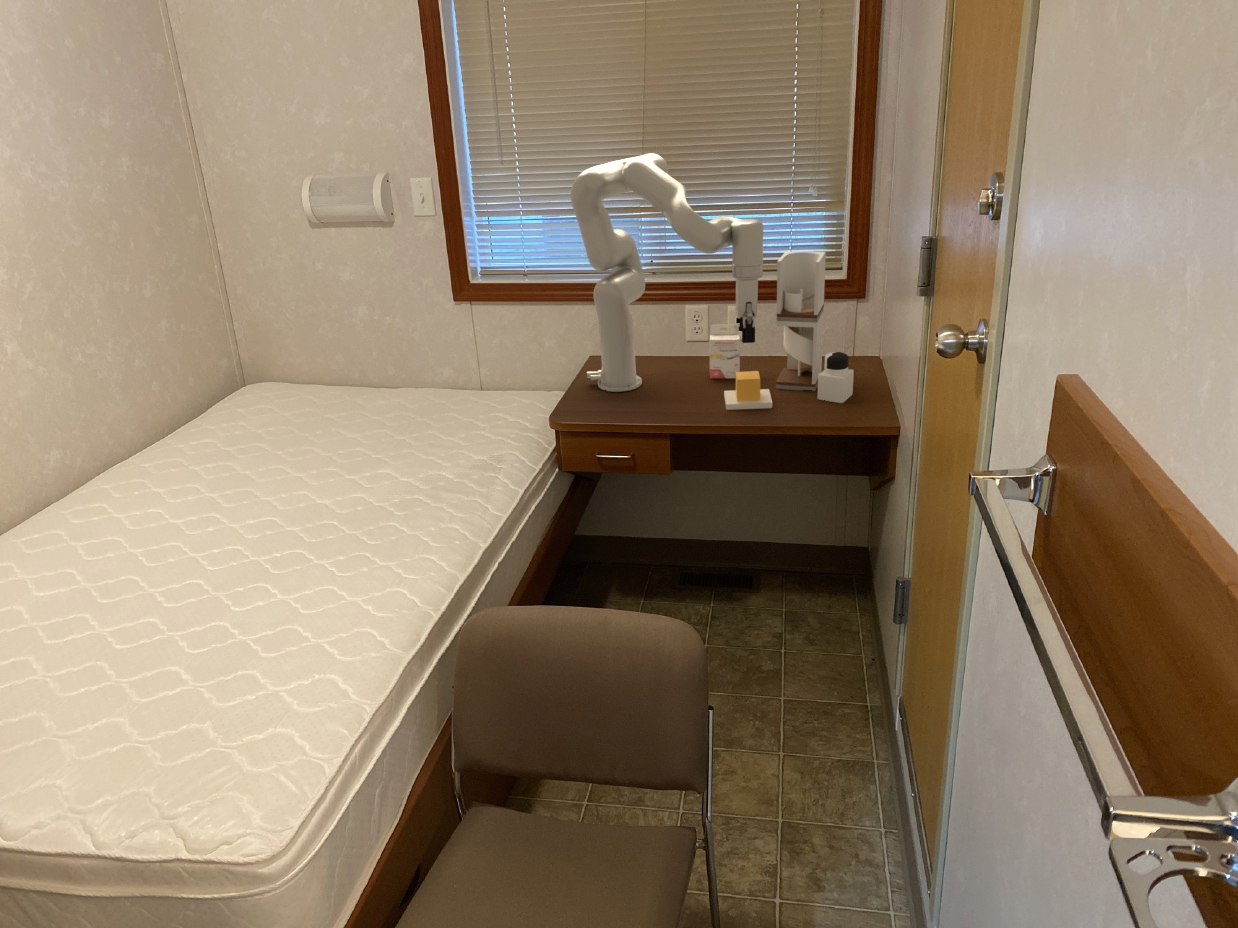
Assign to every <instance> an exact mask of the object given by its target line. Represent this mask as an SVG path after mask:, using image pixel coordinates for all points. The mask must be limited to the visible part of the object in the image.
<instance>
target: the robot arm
mask: <svg viewBox="0 0 1238 928" xmlns="http://www.w3.org/2000/svg"><path fill="white" fill-rule="evenodd" d="M629 192H633V193H634V194H635V195H637V196H638V197H639V198H641V199H643V200H644V201H645V202H646V203H648V204H650V205H651V206H652V207H653V208H654V209H655V210H657V211H659V212H660V213H662V214H663V215H664V216H665V218H666V220H667V222H668V224H669V225H670V227H671V228H672V229H673V232H675V234H676V235H678V236H679V238H681V239H682V240H683V241H684V242H686V243H687V244H688V245H690V246H691V247H692V248H694V249H696V250H697V251H699V252H701V253H704V254H706V255H707V254H708V255H712V254H714V253H717V252H719V251H721V250H723V249H725V248H728V247H731V246H732V247H731V248H732V249H731V250H732V251H731V252H732V253H731V254H732V256H731V257H732V258H731V259H732V260H731V262H732V263H731V264H732V267H731V269H732V275H731V276H732V278H733V279H734V280H735V306H734V307H735V315H736V318H737V319H739V331H740V332H741V342H742V344H751V343H752V344H754V343H756V326H755V319H756V318H757V316H758V315H757V313H758V297H759V295H758V294H759V293H758V292H759V291H758V290H759V279H761V278H763V271H764V269H763V268H764V224H763V222H762V221H761V220H760V219H756V218H742V219H741V218H738V217H737V218H736V217H732V216H727V215H721V216H718V217H715V218H713V219H710V220H706V218H704V217H702V216H701V215H700V214H698V213H697V211H695V210H694V209H692V207H691V206H690V204H689V203H688V201H687V188H686V187H685V185H683V184H682V183H681V182H679V181H678V180H676V179H675V178H673V177H672V176H671V175H669V166H668V164H667V162H666V160H665V158H663V157H662V156H660V155H659V154H657V153H653V152H651V153H649V152H648V153H645V154H642V155H638V156H633V157H632V156H631V157H627V158H623V159H619V160H614V161H609V162H606V163H601V164H598V165H594V166H592V167H589V168H586V169H585V170H584V171H582V172H581V173H580V174H578V175H577V177H576V178H575V180H574V181H573V183H572V186H571V190H570V203H571V205H572V209H573V213H574V215H575V217H576V220H577V222H578V223H577V224H578V226H579V231H580V235H581V238H582V241H583V246H584V248H585V252H586V257H587V259H588V262H589V264H590V266H591V267H592V268H593V269H594V270H596V271H598V272H605V271H609V270H611V272H612V273H610V274H608V275H605V276H604V277H602V278H601V279H599V280H598V281H597V283H596V284H595V287H594V289H593V294H592V295H593V301H594V305H595V310H596V314H597V322H598V331H599V342H600V355H601V356H600V358H601V369H598V370H596V371H590V370H589V371H586V378H587V379H590V381H597V386H598V388H599V389H600V390H602V391H605V390H606V391H605V392H613V393H619V392H620V393H621V392H628V391H633V390H635V389H638V388H639V387H641V385H642V384H643V379H642V378H641V377H640V376H639V375H637V370H636V369H637V367H636V353H635V352H636V351H635V333H634V323H633V322H634V320H633V317H632V314H631V311H630V308H629V305H630V304H631V303H634V302H635V301H637V300H639V299H640V298H641V297H642V296H643V294H644V292H645V289H646V278H645V274H644V270H643V266H642V262H641V259H640V255H639V251H638V248H637V244H636V242H635V240H634V238H633V236H631V234H630V233H629V232H628V231H626V230H625V229H621V228H614V227H613V225H612V222H611V218H610V215H609V212H608V211H607V209H606V206H604V205H603V200H605V199H608V198H611V197H614V196H618V195H620V194H624V193H629Z"/></svg>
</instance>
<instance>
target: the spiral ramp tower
mask: <svg viewBox="0 0 1238 928" xmlns="http://www.w3.org/2000/svg"><path fill="white" fill-rule="evenodd" d="M826 253H827V252H826V251H784V253H783V254H782V255H781V256H780V258H778V260H777V263H776V264H777V265H776V267H777V268H776V273H777V274H776V327H783V348H784V350H785V351H786V352H787V356H786V358H787V359H786V360H787V361H786V362H787V363H786V367H783V368H782V370H781V371H780V373H779V376H778V377H777V379H776V381H775V389H776V390H791V391H792V390H793V391H803V390H812V391H811V392H816V390H817V389H818V375H819V374H820V373H821V372H822V371H823V370H822V368H823V367H822V365H823V342H824V339H823V338H824V337H823V336H824V313H825V312H824V311H825V310H824V309H825V308H824V307H825V280H826V255H827V254H826Z"/></svg>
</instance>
